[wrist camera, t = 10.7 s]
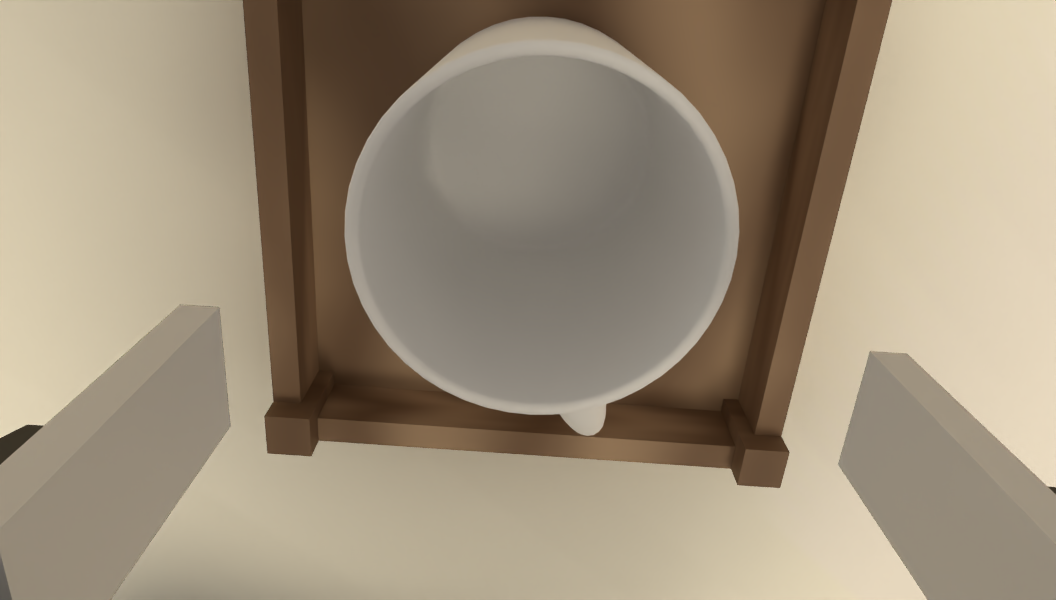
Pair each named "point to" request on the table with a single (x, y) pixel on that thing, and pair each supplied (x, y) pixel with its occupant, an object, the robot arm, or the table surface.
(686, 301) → the mug
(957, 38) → the table surface
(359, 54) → the wooden tray
